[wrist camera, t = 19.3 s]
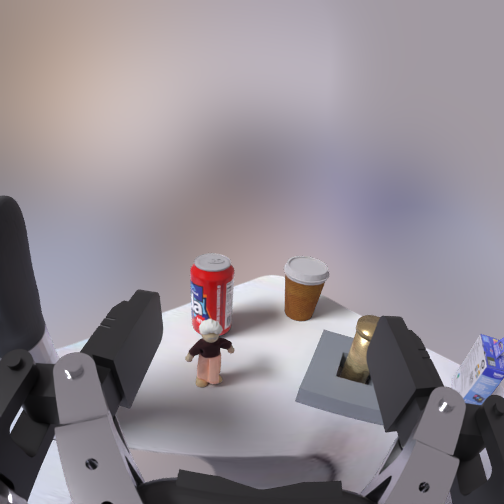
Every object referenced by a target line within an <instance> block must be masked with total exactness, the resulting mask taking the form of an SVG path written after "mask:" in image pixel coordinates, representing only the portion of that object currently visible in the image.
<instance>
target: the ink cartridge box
mask: <svg viewBox="0 0 504 504" xmlns="http://www.w3.org/2000/svg"><path fill="white" fill-rule="evenodd" d="M501 342H502V343H503V350H502V348H501V344H500V343H501ZM503 353H504V338H502V339H501V340H497V339H495V338H492V337H489V336H485V335H482V334H480V335H479V337H478V339H477V341H476V342H475V344H474V346H473V347H472V349H471V351H470V352H469V354H468V355H467V357H466V359H465V360H464V362H463V363H462V365H461V366H460V368H459V369H458V371H457V372H456V373H455V375H454V376H453V378H452V389H454V390H456V391H457V392H458V393H459V394H460V395H461V396H462V397H463V399H464V401H465V403H469V404H476V405H482V403H483V402H484V401H485V400H486V398H487V397H489V396H490V395H491V394H492V393H493V392H494V390H495V389H496V388H497V386H498V385H499V384H500V382H501V381H502V380H503V378H504V355H503Z"/></svg>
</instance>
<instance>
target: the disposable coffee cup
mask: <svg viewBox="0 0 504 504" xmlns="http://www.w3.org/2000/svg"><path fill="white" fill-rule="evenodd" d="M284 271H285V314H286V315H287V316H288V317H289V318H291V319H293V320H297V321H305V320H308V319H310V318H311V317H312V315H313V312H314V310H315V307H316V305H317V302H318V299H319V297H320V294H321V291H322V289H323V286H324V283H325V281H326V280H327V279H328V277H329V272H328V266H327V265H326V264H325V263H324V262H322V261H321V260H318V259H316V258H313V257H307V256H296V257H292V258H290V259H289V260H288V262H287V264H286V265H285V266H284Z"/></svg>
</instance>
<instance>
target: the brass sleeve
mask: <svg viewBox="0 0 504 504" xmlns="http://www.w3.org/2000/svg"><path fill="white" fill-rule="evenodd" d="M379 319H380V317H377V316H372V315H366V316H362V317H361V318H359V320H358V322H357V325H356V334H355V337H354V340H353V342H352V345H351V348H350V351H349V353H348V356H347V359H346V361H345V364H344V367H343V369H342V372H341V374H340V378H344V379H347V380H351V381H355V382H359V383H362V384H365V382H366V380H367V378H368V376H369V374H370V372H369V368H368V365H367V360H366V355H367V349H368V346H369V343H370V341H371V338H372V336H373V333H374V331H375V328H376V326H377V323H378V321H379Z"/></svg>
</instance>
